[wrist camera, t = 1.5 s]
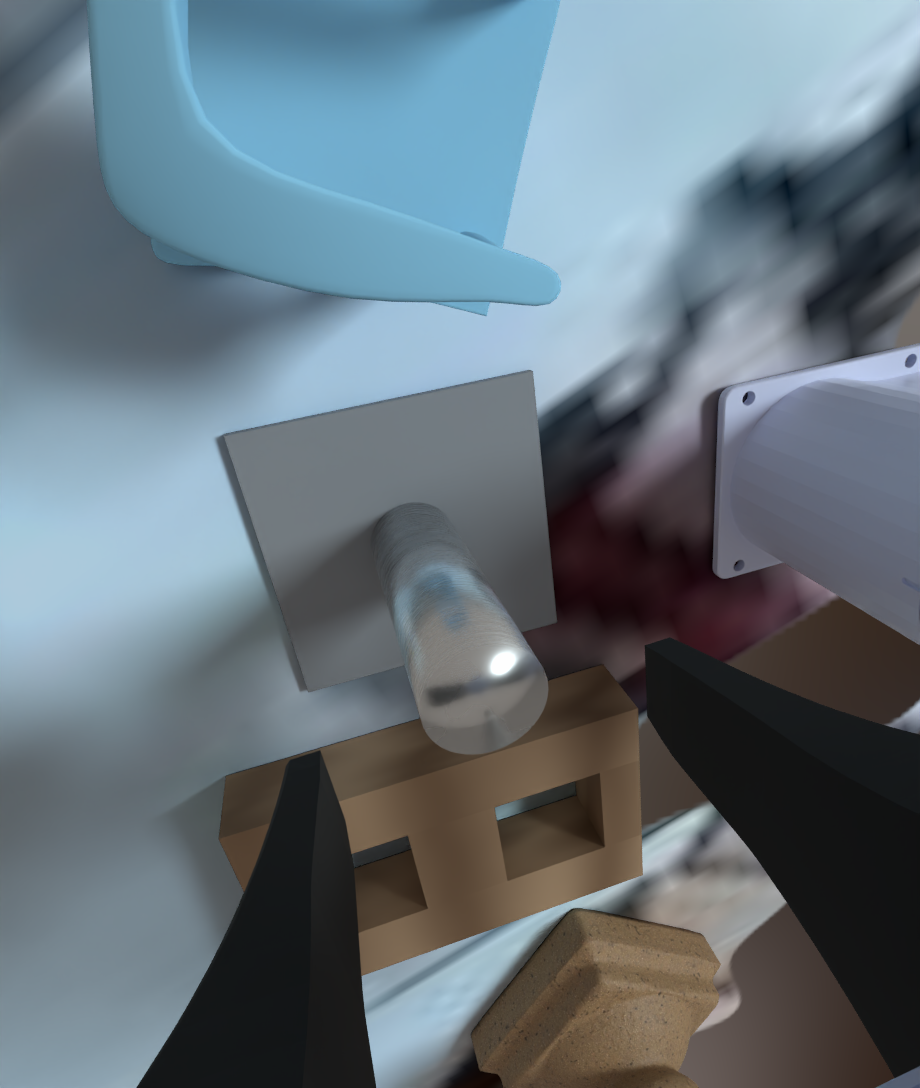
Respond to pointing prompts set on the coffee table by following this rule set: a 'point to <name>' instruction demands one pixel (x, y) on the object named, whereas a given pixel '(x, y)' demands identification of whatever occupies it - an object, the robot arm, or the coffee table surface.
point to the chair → (326, 140)
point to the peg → (455, 635)
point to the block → (471, 820)
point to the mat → (380, 485)
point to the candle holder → (601, 1007)
